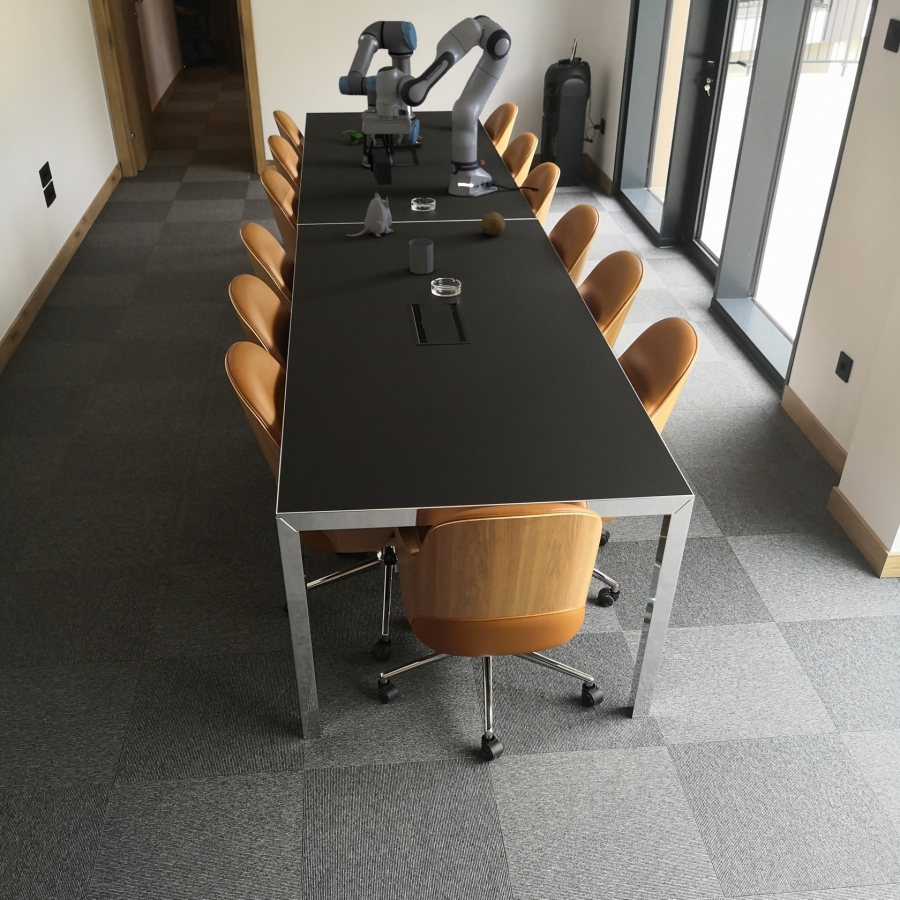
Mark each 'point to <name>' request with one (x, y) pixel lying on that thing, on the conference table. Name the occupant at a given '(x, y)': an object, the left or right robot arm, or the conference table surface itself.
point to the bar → (381, 167)
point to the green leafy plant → (354, 137)
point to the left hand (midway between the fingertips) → (379, 170)
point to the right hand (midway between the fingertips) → (386, 144)
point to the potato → (492, 223)
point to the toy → (377, 217)
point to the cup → (421, 256)
